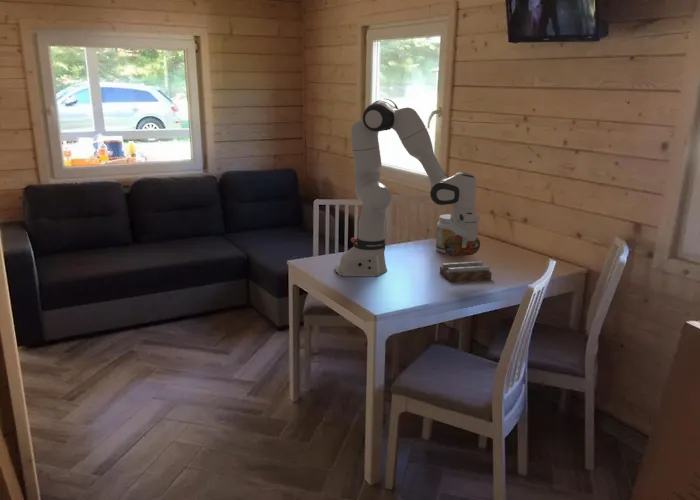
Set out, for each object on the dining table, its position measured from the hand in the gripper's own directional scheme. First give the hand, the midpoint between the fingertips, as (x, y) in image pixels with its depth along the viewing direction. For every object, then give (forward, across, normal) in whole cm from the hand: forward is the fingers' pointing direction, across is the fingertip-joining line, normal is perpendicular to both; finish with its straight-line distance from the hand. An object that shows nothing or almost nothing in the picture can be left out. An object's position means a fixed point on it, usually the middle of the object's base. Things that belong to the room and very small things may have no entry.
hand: (461, 246), depth 245 cm
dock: (+14, -3, +4) cm, 15 cm away
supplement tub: (+15, -41, +11) cm, 45 cm away
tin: (+4, 0, 0) cm, 4 cm away
